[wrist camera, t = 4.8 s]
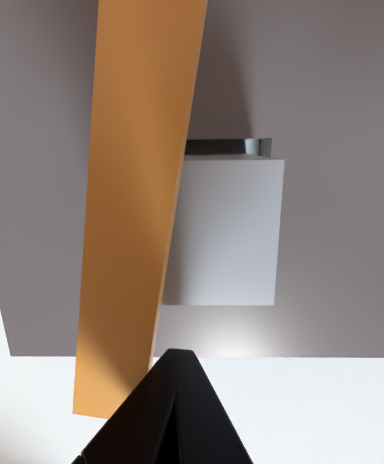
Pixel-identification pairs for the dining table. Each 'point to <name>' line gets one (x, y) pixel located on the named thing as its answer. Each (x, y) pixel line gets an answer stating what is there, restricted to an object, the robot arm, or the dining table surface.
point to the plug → (225, 231)
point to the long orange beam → (132, 189)
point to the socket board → (208, 128)
